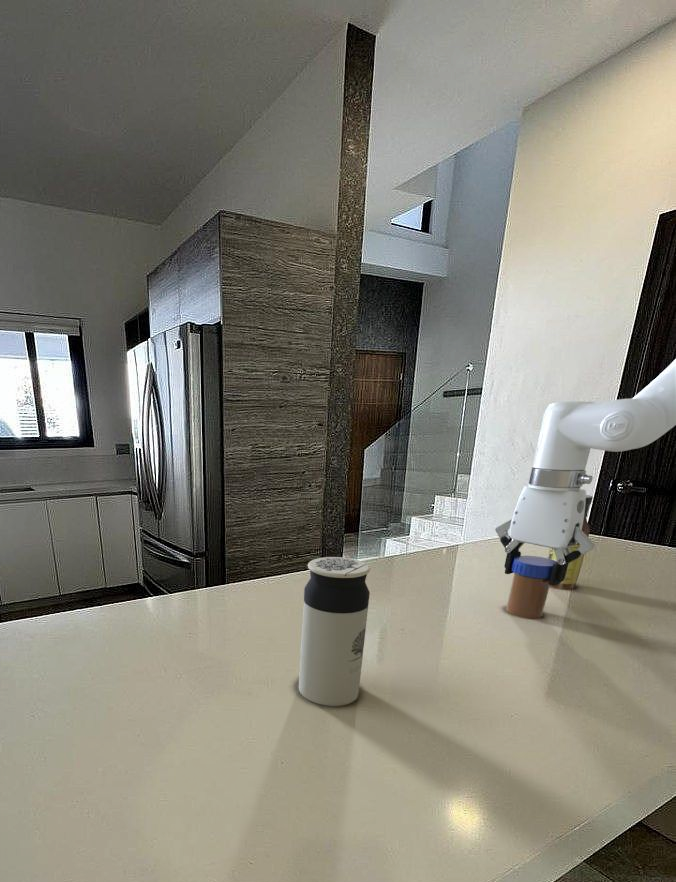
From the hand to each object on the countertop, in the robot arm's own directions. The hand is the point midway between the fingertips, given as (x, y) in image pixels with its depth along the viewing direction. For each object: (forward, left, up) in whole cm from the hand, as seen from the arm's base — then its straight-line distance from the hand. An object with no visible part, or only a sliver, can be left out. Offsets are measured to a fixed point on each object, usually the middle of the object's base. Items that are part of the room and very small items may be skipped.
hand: (531, 577), depth 88 cm
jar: (0, 0, -7) cm, 7 cm away
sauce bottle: (-11, -20, -7) cm, 24 cm away
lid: (0, 0, +3) cm, 3 cm away
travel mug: (+32, +39, -7) cm, 51 cm away
